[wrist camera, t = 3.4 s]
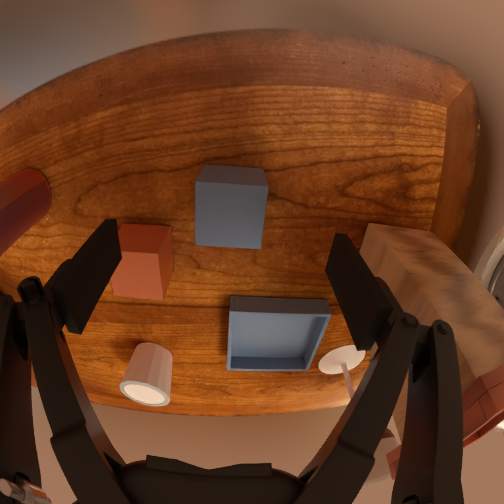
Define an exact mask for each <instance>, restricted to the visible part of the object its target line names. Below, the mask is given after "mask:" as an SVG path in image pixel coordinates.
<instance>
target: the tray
mask: <svg viewBox="0 0 504 504" xmlns="http://www.w3.org/2000/svg"><path fill="white" fill-rule="evenodd" d="M331 315H332V313H331V310H330V308H329V305H328V302H327V299H292V298H267V297H247V296H230V309H229V326H228V344H227V367H226V370H238V371H308V370H309V368H310V365H311V363H312V361H313V359H314V356H315V354H316V352H317V349H318V347H319V345H320V342H321V340H322V337H323V335H324V333H325V330H326V328H327V325H328V323H329V320H330V318H331Z"/></svg>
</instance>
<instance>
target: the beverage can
mask: <svg viewBox="0 0 504 504" xmlns="http://www.w3.org/2000/svg"><path fill="white" fill-rule="evenodd" d="M50 201H51V193H50V188H49V185H48V182H47V180H46V179H45V177H44V176H43V175H42V174H41V173H40V172H39V171H37V170H34V169H31V168H27V169H24V170H22V171H20V172H18V173H16V174H14V175H13V176H11V177H9V178H7V179H5V180H4V181H2V182H0V256H1V255H2V254H3V253H4V252H5V251H6V250H7V249H8V248H9V247H10V246H11V245H12V244H13V243H14V242H16V241H17V240H18V239H19V238H20V237H21V236H22V235H23V234H24V233H25V232H26V231H28V230H29V229H30V228H31V227H32V226H33V225H34V224H36V223H37V222H38V221H39V220H40V219H42V218H43V217H44V216H45V215H46V213H47V212H48V209H49V206H50Z"/></svg>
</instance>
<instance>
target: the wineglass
mask: <svg viewBox="0 0 504 504" xmlns="http://www.w3.org/2000/svg"><path fill="white" fill-rule="evenodd" d="M364 357H365V350H364V351H357V349H356V347H355V345H347V346H343V347H339V348H336V349H334V350H332V351H330V352H329V353H327V354H326V355H324V357H323V358H322V359H321V360H320V362H319V365H318V366H319V369H320V370H321V371H322V372H324V373H326V374H338V373H342V372H343V373H344V377H345V380H346V384H347V387H348V391H349V394H350V398H351V399H352V397H353V395H354V393H355V392H354V389H353V385H352V382H351V379H350V375H349V372H348V370H350V369H353V368H354V367H356V366H357V365H359V364H360V362H361V361H362V360H363V359H364ZM398 446H399V444H398V442H397V441H396V439H395V437H394V435H393V434H392V432H391V431H390V430H389V429H388V428H386V430H385V432H384V434H383V436H382V438H381V441H380V443H379V445H378V447H377V449H376V451H375V453H374V458H375V464H374V466H373V468H372V470H371V472H370V474H369V476H368V477H367V479H366V481H365V483H364V484H363V486H366V485H369V484H372V483H375V482H378V481H381V480H384V479H387V478H389V477H391V473H390V469H389V464H388V460H387V457H386V454H387V453H389V452H390V451H392V450H393V449H395V448H396V447H398Z"/></svg>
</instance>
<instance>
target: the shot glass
mask: <svg viewBox="0 0 504 504" xmlns="http://www.w3.org/2000/svg"><path fill="white" fill-rule="evenodd" d="M171 373H172V355H171V353H170V351H168V350H167V349H166V348H164V347H163V346H160V345H158V344H155V343H150V342H146V343H141V344H138V345H137V347H136V348H135V351H134V353H133V355H132V357H131V360H130V362H129V364H128V367H127V369H126V371H125V374H124V376H123V379H122V381H121V383H120V386H119V387H120V390H121V392H122V393H123V394H124V395H125V396H127V397H128V398H130V399H132V400H133V401H136V402H138V403H141V404H145V405H149V406H163V405H167V404H168V403H169V402H170V388H171Z"/></svg>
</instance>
